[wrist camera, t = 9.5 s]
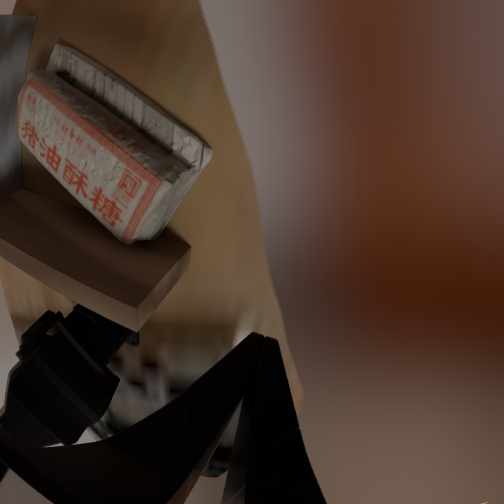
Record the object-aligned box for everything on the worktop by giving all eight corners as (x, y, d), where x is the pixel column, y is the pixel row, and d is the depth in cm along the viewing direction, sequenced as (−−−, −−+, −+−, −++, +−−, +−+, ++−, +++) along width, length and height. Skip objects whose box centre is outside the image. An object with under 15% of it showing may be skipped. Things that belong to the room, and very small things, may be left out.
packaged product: (191, 161, 15) (124, 274, 20) (221, 148, 19) (156, 245, 24) (27, 41, 13) (-3, 144, 18) (68, 42, 17) (33, 133, 22)
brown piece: (188, 268, 24) (120, 354, 15) (15, 201, 26) (-49, 238, 17) (244, -9, 13) (172, -83, 5) (27, 19, 16) (-51, 22, 7)
